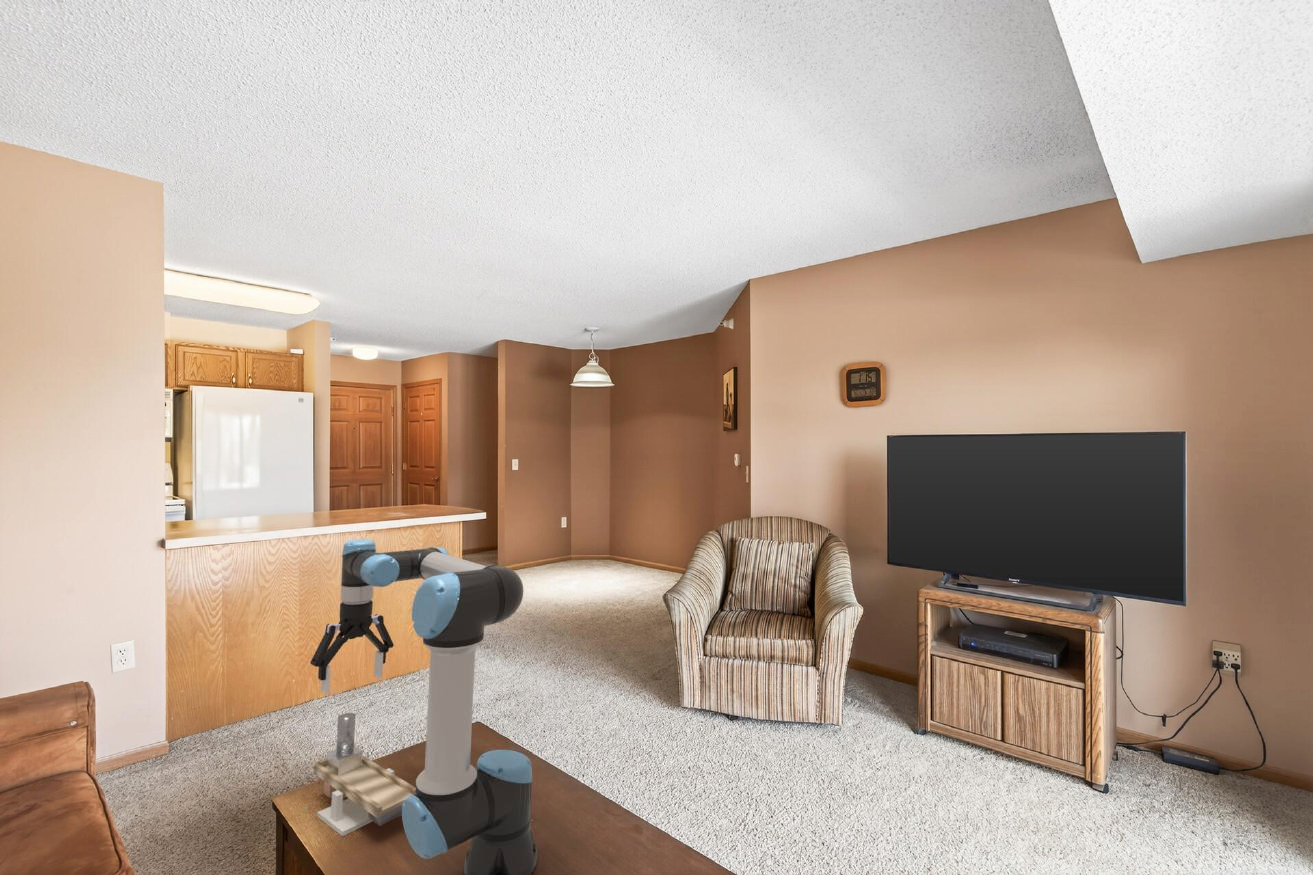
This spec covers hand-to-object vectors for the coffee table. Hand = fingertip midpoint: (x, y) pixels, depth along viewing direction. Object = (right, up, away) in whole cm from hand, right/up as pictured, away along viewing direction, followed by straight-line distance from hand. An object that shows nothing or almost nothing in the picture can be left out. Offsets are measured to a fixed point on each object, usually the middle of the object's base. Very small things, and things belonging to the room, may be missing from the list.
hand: (352, 684), depth 152 cm
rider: (-2, -22, 0) cm, 22 cm away
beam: (+6, -25, -6) cm, 26 cm away
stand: (+2, -29, -3) cm, 29 cm away
